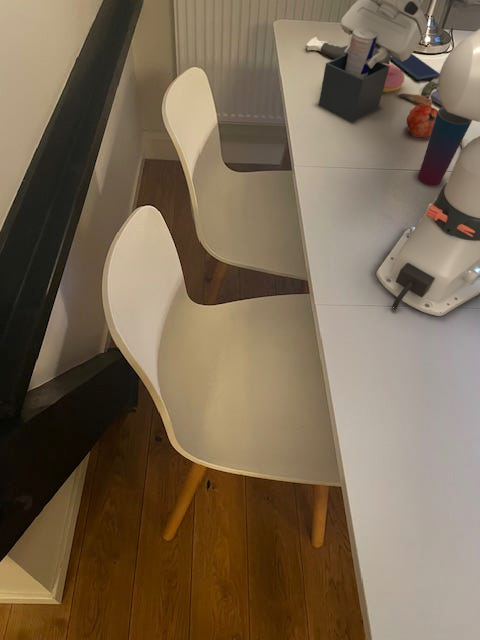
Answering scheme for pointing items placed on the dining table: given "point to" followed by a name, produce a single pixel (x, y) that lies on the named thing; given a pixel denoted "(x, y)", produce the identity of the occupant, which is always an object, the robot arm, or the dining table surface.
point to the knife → (430, 87)
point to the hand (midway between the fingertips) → (357, 60)
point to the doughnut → (393, 79)
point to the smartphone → (416, 68)
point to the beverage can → (360, 51)
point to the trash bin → (351, 89)
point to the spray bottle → (336, 49)
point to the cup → (442, 146)
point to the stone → (416, 98)
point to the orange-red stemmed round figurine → (421, 120)
